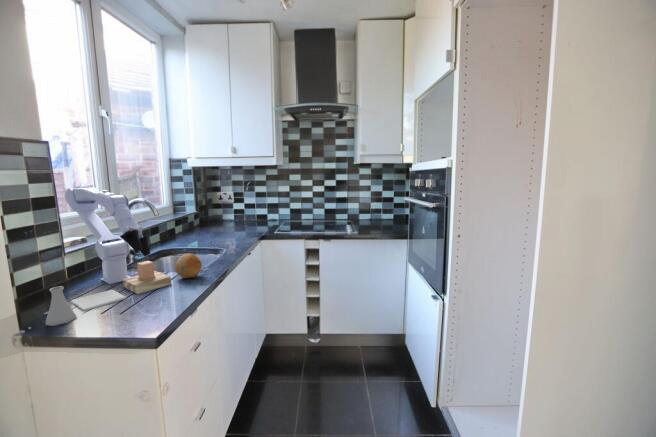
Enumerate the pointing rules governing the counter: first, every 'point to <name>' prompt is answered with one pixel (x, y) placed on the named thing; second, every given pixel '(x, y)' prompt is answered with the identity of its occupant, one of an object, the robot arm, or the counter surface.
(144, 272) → the peg
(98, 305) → the mat
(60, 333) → the counter surface
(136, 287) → the pocket block
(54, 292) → the flask
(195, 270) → the onion
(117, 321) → the counter surface
